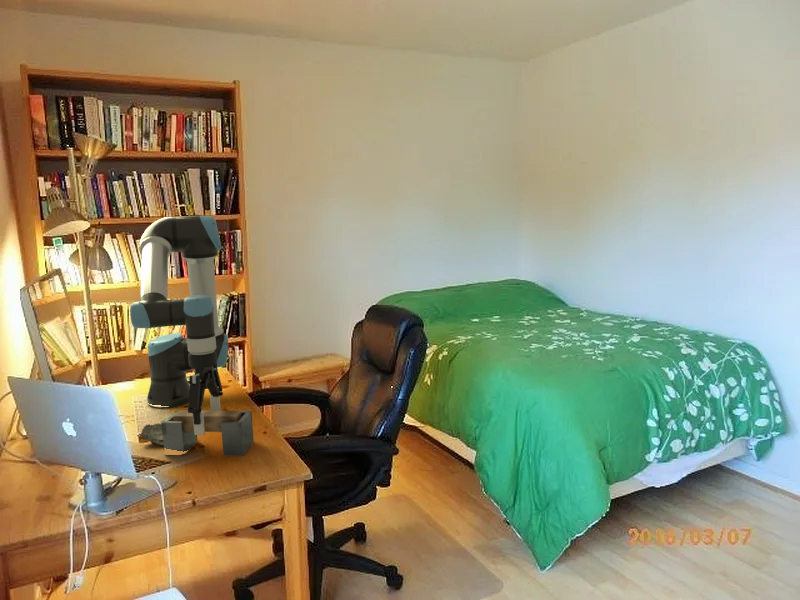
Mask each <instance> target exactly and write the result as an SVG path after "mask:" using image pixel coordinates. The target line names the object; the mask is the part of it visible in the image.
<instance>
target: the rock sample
mask: <svg viewBox="0 0 800 600" xmlns="http://www.w3.org/2000/svg"><path fill="white" fill-rule="evenodd" d="M142 428H143V429H142V430H141V432H140V435H139V436H140V437H141V438H142V439H143V440H144V441H148V442H150V443H151V444H156V445H160V446H164V444H163V433H162V422H161V423H154V424H151V423H150V424H149V423H148V424H146V425H144V427H142Z"/></svg>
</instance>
